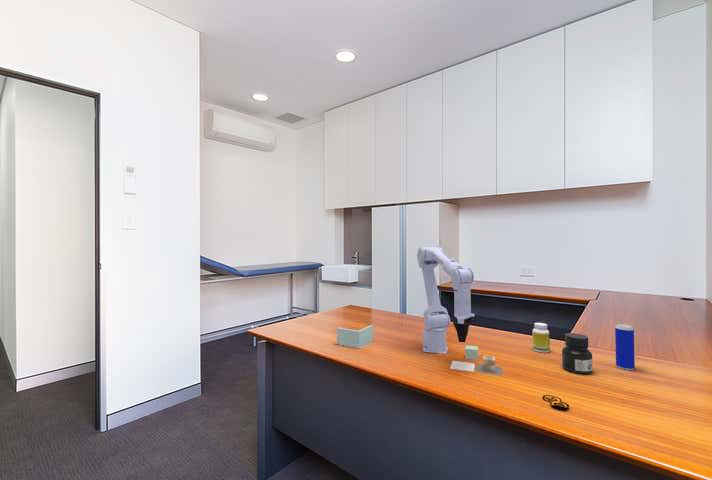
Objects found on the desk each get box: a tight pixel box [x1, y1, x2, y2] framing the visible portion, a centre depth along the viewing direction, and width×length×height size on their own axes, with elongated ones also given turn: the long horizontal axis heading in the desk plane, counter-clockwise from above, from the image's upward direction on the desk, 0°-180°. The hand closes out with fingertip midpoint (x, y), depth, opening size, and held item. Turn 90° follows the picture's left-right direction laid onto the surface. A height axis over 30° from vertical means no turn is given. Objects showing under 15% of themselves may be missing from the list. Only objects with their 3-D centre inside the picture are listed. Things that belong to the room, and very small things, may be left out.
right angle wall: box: [336, 324, 374, 350], centre depth 148 cm, size 12×12×8 cm
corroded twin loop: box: [542, 394, 570, 411], centre depth 91 cm, size 5×8×1 cm, turn 3°
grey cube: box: [482, 355, 496, 372], centre depth 114 cm, size 4×4×4 cm
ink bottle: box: [561, 332, 593, 375], centre depth 114 cm, size 10×9×12 cm
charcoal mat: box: [476, 363, 503, 376], centre depth 114 cm, size 8×8×1 cm
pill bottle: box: [531, 322, 551, 354], centre depth 134 cm, size 6×6×11 cm
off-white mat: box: [449, 360, 476, 373], centre depth 118 cm, size 8×8×1 cm
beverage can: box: [614, 323, 636, 371], centre depth 115 cm, size 5×5×15 cm
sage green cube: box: [464, 344, 479, 361], centre depth 126 cm, size 4×4×4 cm
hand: (463, 338), depth 118 cm, fingers open, 7 cm apart
